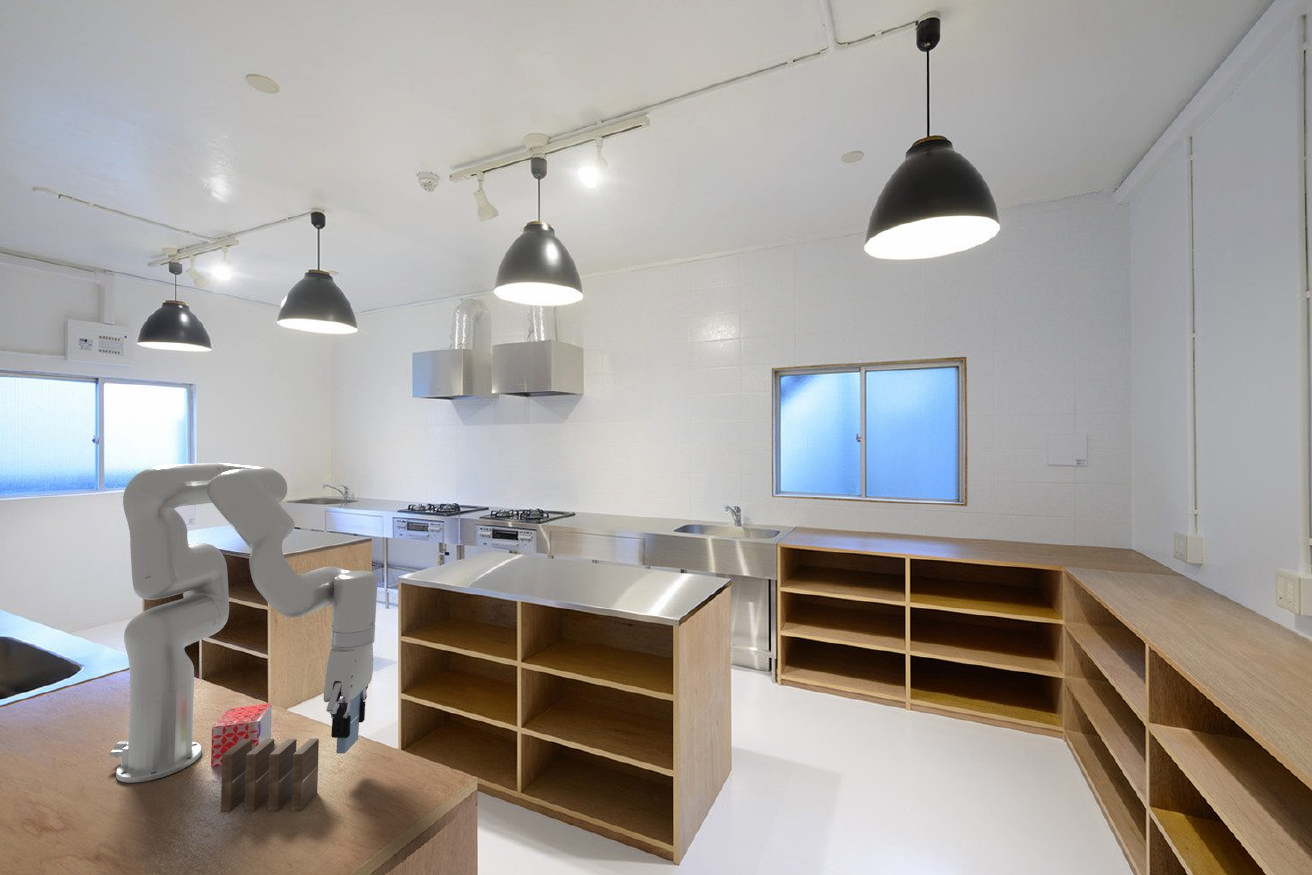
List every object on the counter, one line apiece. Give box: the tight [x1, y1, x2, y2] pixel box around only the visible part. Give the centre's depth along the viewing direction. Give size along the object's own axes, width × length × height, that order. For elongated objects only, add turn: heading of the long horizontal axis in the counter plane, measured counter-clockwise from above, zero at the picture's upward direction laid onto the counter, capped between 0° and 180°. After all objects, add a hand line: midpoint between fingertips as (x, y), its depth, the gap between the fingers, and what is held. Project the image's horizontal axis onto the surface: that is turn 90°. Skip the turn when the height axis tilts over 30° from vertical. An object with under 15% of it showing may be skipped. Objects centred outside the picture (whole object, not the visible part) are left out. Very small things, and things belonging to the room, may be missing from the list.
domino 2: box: [244, 738, 275, 813], centre depth 97 cm, size 2×5×10 cm, turn 3°
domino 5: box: [336, 692, 361, 755], centre depth 106 cm, size 2×5×10 cm, turn 3°
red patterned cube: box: [210, 702, 273, 768], centre depth 112 cm, size 8×8×8 cm
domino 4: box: [291, 738, 320, 812], centre depth 97 cm, size 2×5×10 cm, turn 3°
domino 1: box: [220, 739, 252, 813], centre depth 97 cm, size 2×5×10 cm, turn 3°
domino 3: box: [267, 738, 298, 813], centre depth 97 cm, size 2×5×10 cm, turn 3°
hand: (348, 728), depth 106 cm, fingers closed on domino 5, 4 cm apart
